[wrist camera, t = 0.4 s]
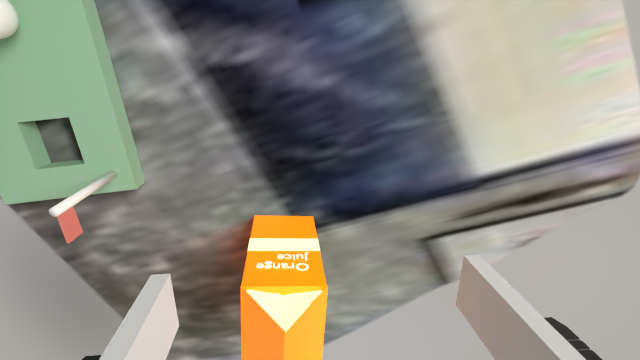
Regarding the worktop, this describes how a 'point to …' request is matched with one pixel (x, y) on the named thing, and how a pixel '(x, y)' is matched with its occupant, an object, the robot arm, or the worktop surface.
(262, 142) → the worktop surface
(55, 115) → the putting deck
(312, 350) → the orange juice
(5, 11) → the ball
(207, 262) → the worktop surface
